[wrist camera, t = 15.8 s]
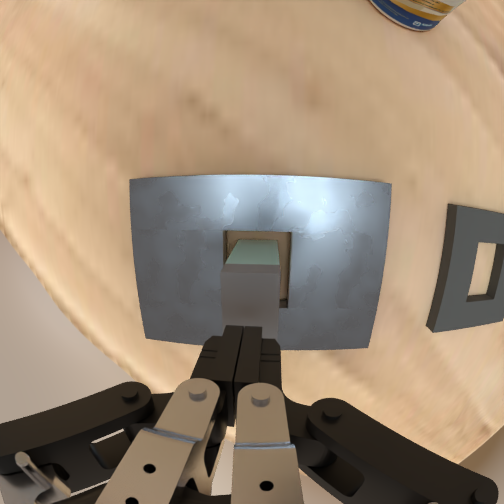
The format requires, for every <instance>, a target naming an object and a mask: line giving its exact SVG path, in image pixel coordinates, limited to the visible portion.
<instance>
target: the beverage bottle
mask: <svg viewBox="0 0 504 504" xmlns="http://www.w3.org/2000/svg"><path fill="white" fill-rule="evenodd" d="M370 1H371V3H372V4H373V5H374V6H375V7H376V8H377V9H378V10H379V11H380V12H381V13H383V14H384V15H385V16H386V17H388V18H389V19H391V20H392V21H394V22H396V23H398V24H400V25H402V26H404V27H406V28H409V29H412V30H417V31H427V30H430V29H432V28H434V27H435V26H436V25H437V24H438V23H439V22H440V21H441V20H442V19H443V18H444V17H445V16H447V15H448V14H449V13H450V12H452V11H453V10H454V9H455V8H457V7H458V6H459V5H460V4H462V3H463V2H464V1H466V0H370Z"/></svg>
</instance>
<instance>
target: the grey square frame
mask: <svg viewBox="0 0 504 504" xmlns="http://www.w3.org/2000/svg"><path fill="white" fill-rule="evenodd" d="M478 242H484V243H496V244H497V247H496V253H495V259H494V264H493V269H492V273H491V278H490V282H489V286H488V290H487V294H484V295H473V296H468V292H469V288H470V284H471V279H472V275H473V270H474V265H475V259H476V254H477V248H478ZM503 318H504V214H502V213H497V212H492V211H487V210H482V209H476V208H471V207H465V206H459V205H453V204H448V211H447V222H446V231H445V239H444V246H443V253H442V259H441V265H440V270H439V275H438V280H437V285H436V290H435V294H434V298H433V302H432V306H431V310H430V314H429V317H428V321H427V324H426V326H427V327H428V328H429V329H430V330H431V331H432V332H433V333H435V332H443V331H450V330H456V329H463V328H469V327H475V326H480V325H485V324H490V323H495V322H500V321H503Z"/></svg>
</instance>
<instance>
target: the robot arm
mask: <svg viewBox="0 0 504 504" xmlns="http://www.w3.org/2000/svg"><path fill="white" fill-rule="evenodd" d="M235 418H236V440H235V445H234V452H233V472H232V492H231V494H230V495H218V496H211V490H212V482H213V478H214V475H215V472H216V469H217V465H218V462H219V459H220V455H221V452H222V449H223V445H224V437H225V434H226V428H227V426H232V427H234V424H235ZM121 429H124V431H123V432H121V433H119V434H116V435H114V436H112V437H109V438H107V439H104V440H102V441H100V442H97V443H91V442H92V441H94V440H97V439H99V438H101V437H104V436H106V435H109V434H111V433H114V432H116V431H118V430H121ZM299 468H300V469H301V470H302V471H303V472H304V473H305V474H307V475H308V476H309V477H310V478H311V479H313V480H314V481H315V482H316V483H317V484H319V485H320V486H321V487H322V488H324V489H325V490H326V491H327V492H329V493H330V494H331V495H333V496H334V497H335V498H337V499H338V500H339V501H341V502H342V503H343V504H496V503H497V500H498V488H497V485H496V484H495V482H494V481H493V480H491V479H489V478H487V477H485V476H482V475H480V474H478V473H475V472H473V471H471V470H469V469H466V468H464V467H462V466H460V465H458V464H456V463H453V462H451V461H449V460H447V459H445V458H443V457H441V456H439V455H437V454H435V453H433V452H431V451H429V450H427V449H425V448H424V447H422V446H420V445H418V444H416V443H414V442H412V441H411V440H409V439H407V438H405V437H403V436H402V435H400V434H398V433H396V432H395V431H393V430H391V429H389V428H388V427H386V426H384V425H383V424H381V423H379V422H378V421H376V420H374V419H373V418H371V417H369V416H368V415H366V414H364V413H363V412H361V411H360V410H358V409H356V408H355V407H353V406H352V405H350V404H348V403H347V402H345V401H343V400H340V399H336V398H325V399H321V400H318V401H316V402H315V403H313V404H312V405H311V406H307V405H303V404H299V403H296V402H293V401H292V400H290V399H289V398H287V397H286V396H285V395H284V393H283V391H282V381H281V351H280V345H279V344H278V342H277V341H276V340H275V339H268V338H262V327H261V326H245V328H244V326H238V325H226V326H225V329H224V332H223V335H222V336H212V337H210V338H209V339H208V340H207V341H205V343H204V346H203V348H202V351H201V353H200V355H199V358H198V360H197V363H196V365H195V368H194V370H193V373H192V375H191V378H190V379H189V380H186V381H184V382H182V383H181V384H180V385H179V386H178V387H177V388H176V390H175V392H172V393H163V394H151V391H150V389H149V388H148V387H147V386H146V385H144V384H142V383H139V382H125V383H122V384H119V385H116V386H114V387H112V388H109V389H106V390H104V391H101V392H98V393H96V394H93V395H90V396H88V397H85V398H82V399H79V400H76V401H74V402H71V403H68V404H65V405H62V406H59V407H56V408H53V409H50V410H47V411H44V412H40V413H37V414H34V415H31V416H27V417H23V418H20V419H16V420H13V421H9V422H5V423H2V424H0V491H1V493H2V497H3V500H4V503H5V504H304V501H303V494H302V487H301V480H300V474H299ZM108 479H110V480H109V481H108V483H104V484H102V485H99V486H97V487H94V488H92V489H90V490H87V491H85V492H82V493H79V494H77V495H74V496H71V497H70V495H71V493H73V492H76V491H79V490H82V489H85V488H88V487H90V486H93V485H96V484H98V483H101V482H103V481H106V480H108Z"/></svg>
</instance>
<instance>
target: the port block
mask: <svg viewBox="0 0 504 504" xmlns="http://www.w3.org/2000/svg"><path fill="white" fill-rule="evenodd" d="M391 185H392V184H390V183H381V182H372V181H362V180H352V179H339V178H326V177H309V176H286V175H194V176H172V177H155V178H141V179H130V213H131V230H132V244H133V255H134V264H135V273H136V281H137V289H138V296H139V303H140V309H141V315H142V321H143V326H144V332H145V337H146V338H147V339H153V340H160V341H168V342H176V343H184V344H194V345H204V343H205V341H207V340H208V339H209V338H210V337H212V336H222V335H223V327H222V306H221V280H220V272H221V270H222V268H223V266H224V265H225V263H226V230H237V231H277V232H291V236H290V258H289V277H288V293H287V300H279V320H278V339H277V342H278V344H279V345H280V350H336V349H358V348H368V346H369V342H370V338H371V333H372V329H373V325H374V320H375V315H376V310H377V305H378V300H379V295H380V289H381V283H382V277H383V271H384V264H385V256H386V249H387V240H388V230H389V219H390V205H391Z"/></svg>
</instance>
